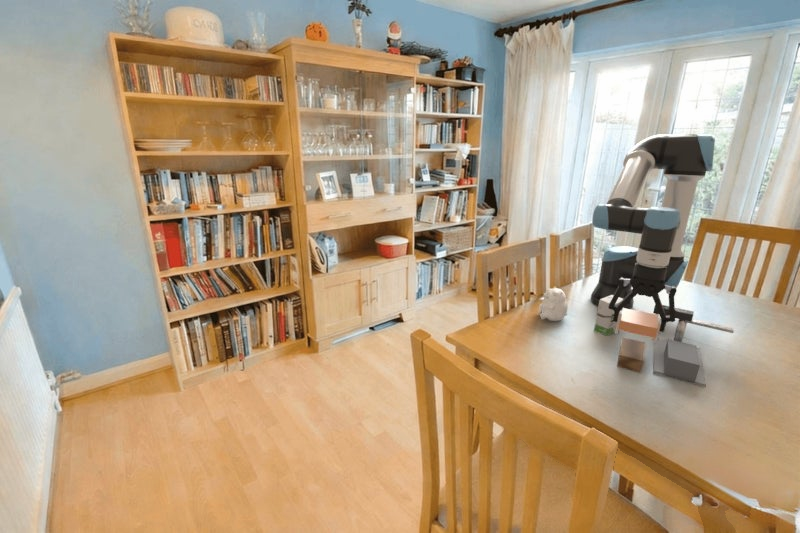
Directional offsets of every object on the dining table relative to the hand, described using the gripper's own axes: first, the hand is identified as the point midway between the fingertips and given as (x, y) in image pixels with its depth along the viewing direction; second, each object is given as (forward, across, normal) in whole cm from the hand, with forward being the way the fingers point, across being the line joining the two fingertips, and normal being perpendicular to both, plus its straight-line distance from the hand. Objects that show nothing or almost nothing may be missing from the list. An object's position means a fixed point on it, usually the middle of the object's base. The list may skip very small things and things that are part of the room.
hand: (635, 335), depth 111 cm
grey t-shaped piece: (+7, +14, +17) cm, 23 cm away
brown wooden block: (+8, 0, 0) cm, 8 cm away
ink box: (+8, -8, +17) cm, 21 cm away
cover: (-3, 0, 0) cm, 3 cm away
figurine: (+8, -26, +16) cm, 32 cm away
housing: (+8, +12, +8) cm, 17 cm away
